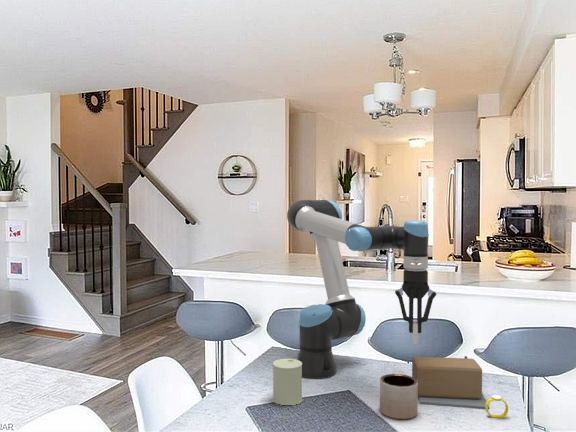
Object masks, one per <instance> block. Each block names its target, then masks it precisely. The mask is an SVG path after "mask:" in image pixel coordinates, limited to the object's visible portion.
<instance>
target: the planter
mask: <svg viewBox="0 0 576 432" xmlns="http://www.w3.org/2000/svg"><path fill="white" fill-rule="evenodd" d="M418 402H419V398H418V381H417V380H416V379H415V378H413V377H412V375H411V376H410V375H406V374H403V373H402V374H401V373H389V374H384V375H382V376H380V378H379V411H380V413H381V414H383V416H386V417H388V418H390V419H394V420H402V421H403V420H410V419H413V418H414V417H416V416H417V415H418V412H419V411H418V410H419V408H418V407H419V405H418Z"/></svg>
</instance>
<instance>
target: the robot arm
mask: <svg viewBox="0 0 576 432" xmlns="http://www.w3.org/2000/svg"><path fill="white" fill-rule="evenodd" d="M286 219H287V221H288V224H289V225H290V226H291V227H292V228H293V229H294V230H297V231H300V232H308V233H309V235H310V237H311V238H313V239H314V240H315V245H316V251H317V255H318V259H319V263H320V269H321V272H322V276H323V277H322V278H323V282H324V287H325V293H326V297H327V300H326V302H325V304H324V303H323V304H312V305H311V304H310V305H307V306H306V307H303V308H302V309H301V311H300V312H299V320H298V324H299V351H298V353H297V356H296V360H299V361H301V362H302V378H307V379H327V378H331V377H333V376H335V375H336V374H337V364H336V359H335V357H334V354H333V350H332V349H333V348H332V347H333V343H332V342H333V341H334V340H340V339H344V338H345V339H346V338H350V337H353V336H357V335H359V334H360V333H361V332H362V331H363V330H364V327H365V326H366V321H367V320H366V319H367V318H366V312H365V310H364V307H362V306H361V305H360V304H359V303H357V301H356V298H355V297H354V296H352V295H351V294H350V290H349V285H348V281H347V276H346V272H345V268H344V263H343V258H342V254H341V248H340V244H339V243H341V244H343V245H344V244H345V245H346V247H347V248H348V249H349V250H350V251H353V252H366V251H376V250H391V249H394V250H395V249H396V250H403V268H404V270H403V278H402V279H403V281H402V282H403V283H402V285H401V287H400V288H399V289H395V290H394V294H395V295H396V297H397V299H398V302H399V306H400V309H401V314H402V318H403V321H405V322H408V332H409V333H410V334H411V333H412V335H411V337H412V341H411V342H412V344H413V345H418V343H419V340H418V339H419V337H418V336H419V334H422V324H423V323H425V322H426V323H427V322H428V320H429V316H430V312H431V308H432V304H433V300H434V299H435V297H436V296H437V293H436V291H434V290H432V289H431V288H430V285H429V283H428V282H429V280H428V279H429V276H428V274H429V271H428V270H427V269H428V268H429V252H428V251H429V250H428V249H429V236H430V234H429V224H428V223H427V222H426V220H425V221H424V220H406V221H404V223H403V226H397V225H389V224H388V225H385V224H384V225H379V226H364V225H361V224H358V223H355V222H352V221H349V220H345V219H343V213H342V210H341V207H340V206H339V205H338V204H337V203H336V202H335V201H333V200H330V199H329V200H327V199H300V200H297V201H296V200H295V202H293V203H292V204H291V205H290V206H289V207H288V209H287V212H286ZM404 293H405V295H406V296H407V297H408V316H407V311H406V307H405V303H404V299H403V295H404ZM427 293H428V294H427ZM426 295H428V298H427V300H426V305H425V308H424V313H423V311H422V309H423V305H422V304H423V303H422V302H423V298H424V297H425V296H426ZM414 299H416V302H417V303H416V308H417V309H416V310H417V311H416V312H417V313H416V321H414ZM422 314H423V315H422Z"/></svg>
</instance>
